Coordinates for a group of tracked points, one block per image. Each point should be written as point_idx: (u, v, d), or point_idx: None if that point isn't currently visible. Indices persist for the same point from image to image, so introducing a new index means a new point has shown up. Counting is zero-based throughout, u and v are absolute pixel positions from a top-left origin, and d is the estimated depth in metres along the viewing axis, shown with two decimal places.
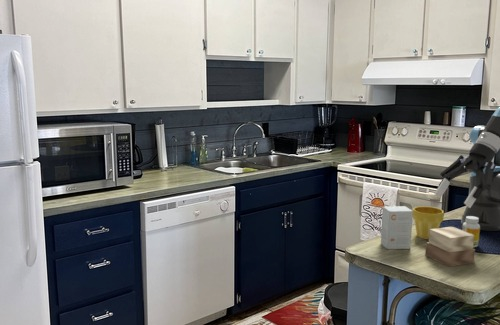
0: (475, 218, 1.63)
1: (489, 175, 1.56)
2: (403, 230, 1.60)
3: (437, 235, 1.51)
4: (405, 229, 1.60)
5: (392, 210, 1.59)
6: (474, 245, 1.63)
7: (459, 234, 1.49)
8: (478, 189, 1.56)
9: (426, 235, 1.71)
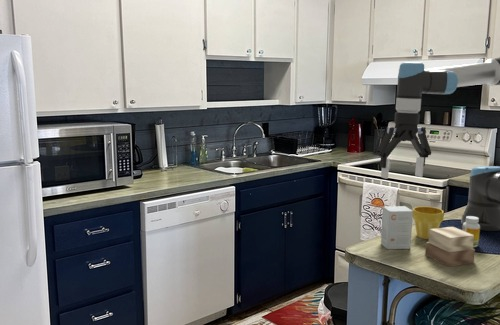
0: (475, 218, 1.63)
1: (383, 141, 1.55)
2: (403, 230, 1.60)
3: (436, 235, 1.51)
4: (405, 229, 1.60)
5: (392, 210, 1.59)
6: (474, 245, 1.63)
7: (458, 234, 1.49)
8: None
9: (426, 235, 1.71)
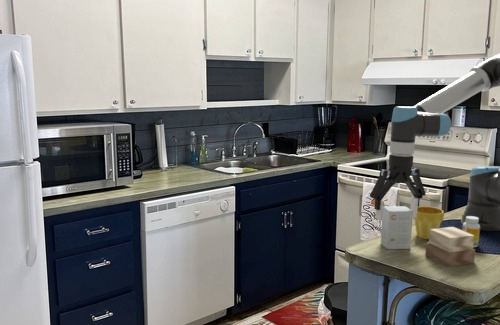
0: (475, 218, 1.63)
1: (377, 183, 1.57)
2: (403, 230, 1.60)
3: (437, 235, 1.51)
4: (405, 229, 1.60)
5: (392, 210, 1.59)
6: (474, 245, 1.63)
7: (459, 234, 1.49)
8: None
9: (426, 235, 1.71)
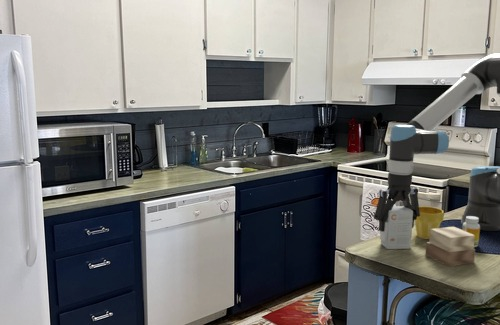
0: (475, 218, 1.63)
1: (378, 205, 1.59)
2: (403, 230, 1.60)
3: (437, 235, 1.51)
4: (406, 229, 1.60)
5: (392, 210, 1.59)
6: (474, 245, 1.63)
7: (459, 234, 1.49)
8: None
9: (426, 235, 1.71)
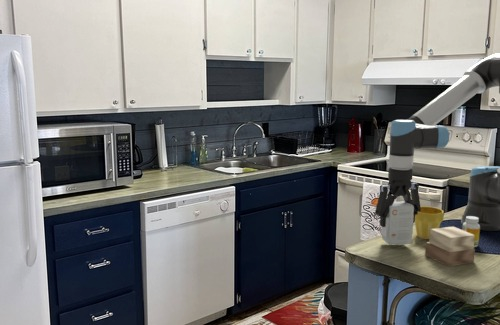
0: (475, 218, 1.63)
1: (379, 200, 1.59)
2: (404, 225, 1.59)
3: (437, 235, 1.51)
4: (407, 224, 1.59)
5: (393, 205, 1.59)
6: (474, 245, 1.63)
7: (459, 234, 1.49)
8: None
9: (426, 235, 1.71)
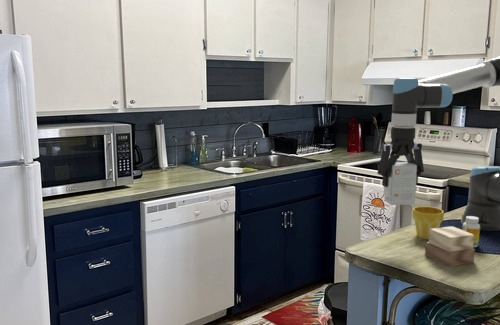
0: (475, 218, 1.63)
1: (382, 160, 1.56)
2: (407, 185, 1.57)
3: (437, 235, 1.51)
4: (409, 184, 1.57)
5: (395, 164, 1.57)
6: (474, 245, 1.63)
7: (459, 234, 1.50)
8: None
9: (426, 235, 1.71)
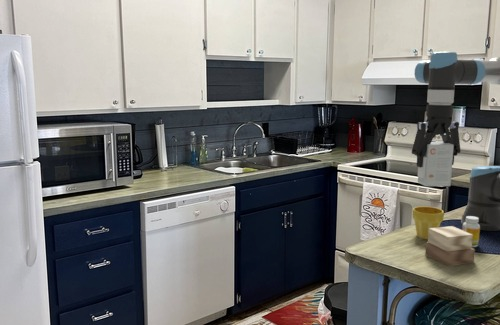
0: (475, 218, 1.63)
1: (416, 138, 1.49)
2: (442, 166, 1.49)
3: (435, 234, 1.52)
4: (445, 165, 1.49)
5: (431, 144, 1.49)
6: (474, 245, 1.63)
7: (457, 233, 1.50)
8: None
9: (426, 235, 1.71)
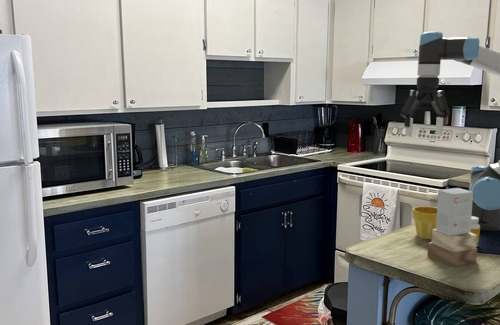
0: (475, 218, 1.63)
1: (406, 103, 1.74)
2: (464, 214, 1.48)
3: (440, 235, 1.51)
4: (466, 212, 1.48)
5: (453, 192, 1.47)
6: None
7: (462, 234, 1.49)
8: None
9: (426, 235, 1.71)
